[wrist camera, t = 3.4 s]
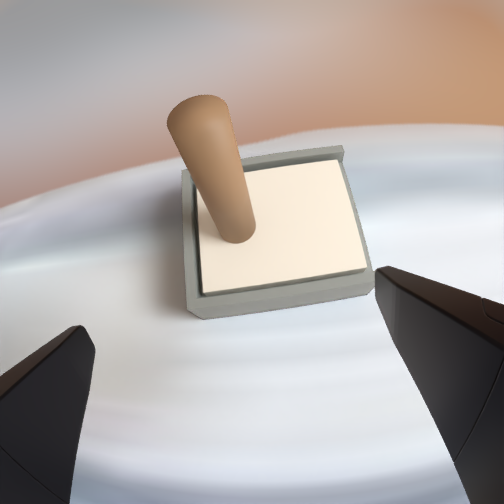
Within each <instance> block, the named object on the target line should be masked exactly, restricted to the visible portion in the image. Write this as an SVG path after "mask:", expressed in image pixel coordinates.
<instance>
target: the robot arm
mask: <svg viewBox="0 0 504 504" xmlns="http://www.w3.org/2000/svg"><path fill="white" fill-rule="evenodd" d="M375 297H376V301H377V304H378V306H379V308H380V311H381V313H382V316H383V318H384V320H385V323H386V325H387V328H388V330H389V333H390V335H391V337H392V340H393V342H394V344H395V346H396V348H397V350H398V351H399V353H400V355H401V357H402V359H403V361H404V363H405V364H406V366H407V368H408V370H409V372H410V374H411V376H412V378H413V380H414V381H415V383H416V385H417V387H418V389H419V391H420V393H421V395H422V397H423V399H424V401H425V403H426V405H427V407H428V409H429V411H430V413H431V415H432V417H433V419H434V421H435V423H436V425H437V428H438V430H439V432H440V434H441V436H442V438H443V440H444V443H445V445H446V447H447V449H448V451H449V454H450V456H451V458H452V460H453V462H454V465H455V468H456V470H457V472H458V474H459V477H460V479H461V482H462V484H463V486H464V489H465V491H466V494H467V496H468V499H469V501H470V504H504V305H503V304H500V303H497V302H494V301H491V300H489V299H486V298H481V297H480V296H477V295H474V294H471V293H468V292H466V291H463V290H460V289H457V288H454V287H451V286H448V285H445V284H442V283H439V282H436V281H433V280H430V279H427V278H424V277H421V276H418V275H415V274H412V273H409V272H406V271H403V270H400V269H397V268H394V267H391V266H385V267H381V268H377V269H376V270H375ZM94 358H95V346H94V344H93V342H92V340H91V338H90V337H89V335H88V333H87V331H86V329H85V328H84V327H83V326H81V325H78V326H72V327H70V328H68V329H67V330H65V331H64V332H62V333H61V334H60V335H58V336H57V337H55V338H54V339H52V340H51V341H49V342H48V343H47V344H45V345H44V346H42V347H41V348H39V349H38V350H36V351H35V352H34V353H32V354H31V355H29V356H28V357H27V358H25V359H24V360H22V361H21V362H19V363H18V364H17V365H15V366H14V367H12V368H11V369H10V370H8V371H7V372H5V373H4V374H3V375H1V376H0V504H69V503H70V494H71V487H72V480H73V473H74V466H75V460H76V454H77V449H78V443H79V438H80V433H81V428H82V423H83V418H84V414H85V409H86V405H87V400H88V396H89V391H90V385H91V378H92V371H93V364H94Z"/></svg>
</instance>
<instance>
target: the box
mask: <svg viewBox="0 0 504 504" xmlns="http://www.w3.org/2000/svg"><path fill="white" fill-rule="evenodd" d="M343 156H344V149H343V146H342V145H339V146H330V147H321V148H313V149H305V150H297V151H290V152H283V153H276V154H269V155H262V156H256V157H250V158H244V159H241V163H242V167H243V171H244V173H245V172H251V171H257V170H263V169H270V168H277V167H283V166H290V165H297V164H305V163H313V162H321V161H329V160H338V163H339V166H340V170H341V173H342V176H343V179H344V182H345V186H346V189H347V192H348V196H349V199H350V203H351V206H352V210H353V213H354V217H355V221H356V224H357V228H358V232H359V236H360V239H361V243H362V247H363V251H364V255H365V259H366V264H367V268H366V270H365V271H364V272H362V273H356V274H350V275H344V276H338V277H333V278H327V279H321V280H314V281H308V282H302V283H296V284H289V285H283V286H276V287H270V288H263V289H256V290H250V291H243V292H236V293H228V294H221V295H214V296H206V295H205V294H204V293H203V283H202V270H201V256H200V241H199V224H198V205H197V187H196V185H195V183H194V181H193V179H192V177H191V175H190V173H189V171H188V169H185V170H182V221H183V248H184V268H185V286H186V301H187V310H188V311H190V312H191V313H193V314H195V315H196V316H198V317H200V318H201V319H203V320H206V319H214V318H223V317H230V316H238V315H245V314H253V313H260V312H267V311H273V310H280V309H287V308H293V307H299V306H306V305H312V304H318V303H324V302H329V301H335V300H341V299H346V298H352V297H357V296H363V295H367V294H368V293H369V292H370V291H371V290H372V289H373V288H374V287H375V271H373V270H372V266H371V261H370V257H369V253H368V249H367V245H366V241H365V238H364V234H363V230H362V226H361V223H360V219H359V216H358V212H357V209H356V205H355V202H354V198H353V195H352V192H351V188H350V185H349V182H348V179H347V176H346V172H345V169H344V166H343V163H342V161H343Z"/></svg>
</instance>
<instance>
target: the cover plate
mask: <svg viewBox="0 0 504 504" xmlns="http://www.w3.org/2000/svg"><path fill="white" fill-rule="evenodd" d="M167 127H168V129H169V132H170V134H171V136H172V138H173V140H174V142H175V144H176V146H177V148H178V150H179V152H180V154H181V156H182V159H183V161H184V163H185V165H186V167H187V169H188V171H189V173H190V175H191V177H192V179H193V181H194V183H195V185H196V187H197V205H198V224H199V241H200V256H201V270H202V283H203V293H204V294H205V295H206V296H214V295H221V294H228V293H236V292H243V291H250V290H256V289H263V288H270V287H276V286H283V285H289V284H296V283H302V282H308V281H314V280H321V279H327V278H333V277H338V276H344V275H350V274H356V273H362V272H364V271H365V270H366V268H367V264H366V259H365V255H364V251H363V247H362V243H361V239H360V236H359V232H358V228H357V224H356V221H355V217H354V213H353V210H352V206H351V203H350V199H349V196H348V192H347V189H346V186H345V182H344V179H343V176H342V173H341V170H340V166H339V163H338V160H329V161H321V162H313V163H305V164H297V165H290V166H283V167H277V168H270V169H263V170H257V171H251V172H245V173H244V171H243V167H242V163H241V159H240V155H239V151H238V147H237V143H236V139H235V134H234V130H233V126H232V122H231V118H230V114H229V110H228V106H227V104H226V103H225V102H224V100H222V99H221V98H219V97H217V96H213V95H198V96H194V97H191V98H189V99H186V100H185V101H182V102H181V103H179V104H178V105H177V106H176V107H175V108H174V109H173V110H172V111H171V113H170V114H169V116H168V120H167Z"/></svg>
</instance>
